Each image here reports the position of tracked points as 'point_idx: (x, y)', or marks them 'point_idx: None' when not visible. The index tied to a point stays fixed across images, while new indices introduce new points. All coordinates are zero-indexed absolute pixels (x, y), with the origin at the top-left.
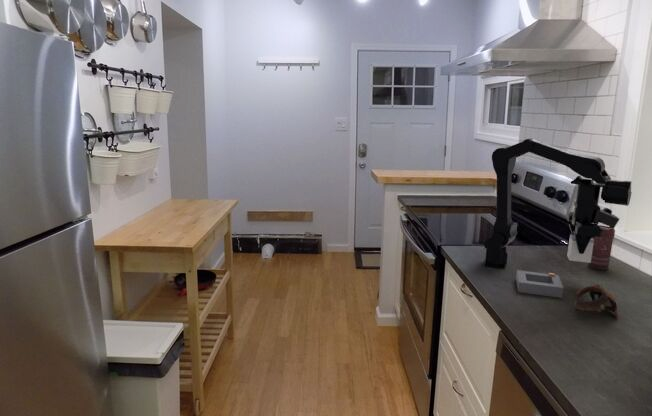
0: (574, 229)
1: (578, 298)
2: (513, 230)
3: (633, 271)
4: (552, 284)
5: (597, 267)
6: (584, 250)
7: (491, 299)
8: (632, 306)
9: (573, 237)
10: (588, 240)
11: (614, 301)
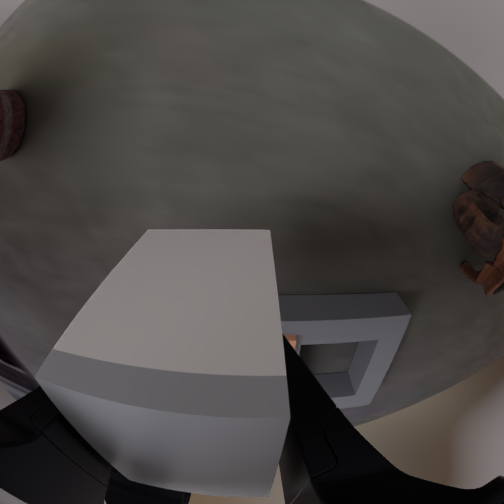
0: (91, 501)
1: (501, 290)
2: (142, 498)
3: (18, 20)
4: (382, 343)
5: (20, 124)
6: (299, 357)
7: (401, 406)
8: (415, 65)
9: (243, 495)
10: (371, 456)
11: None
